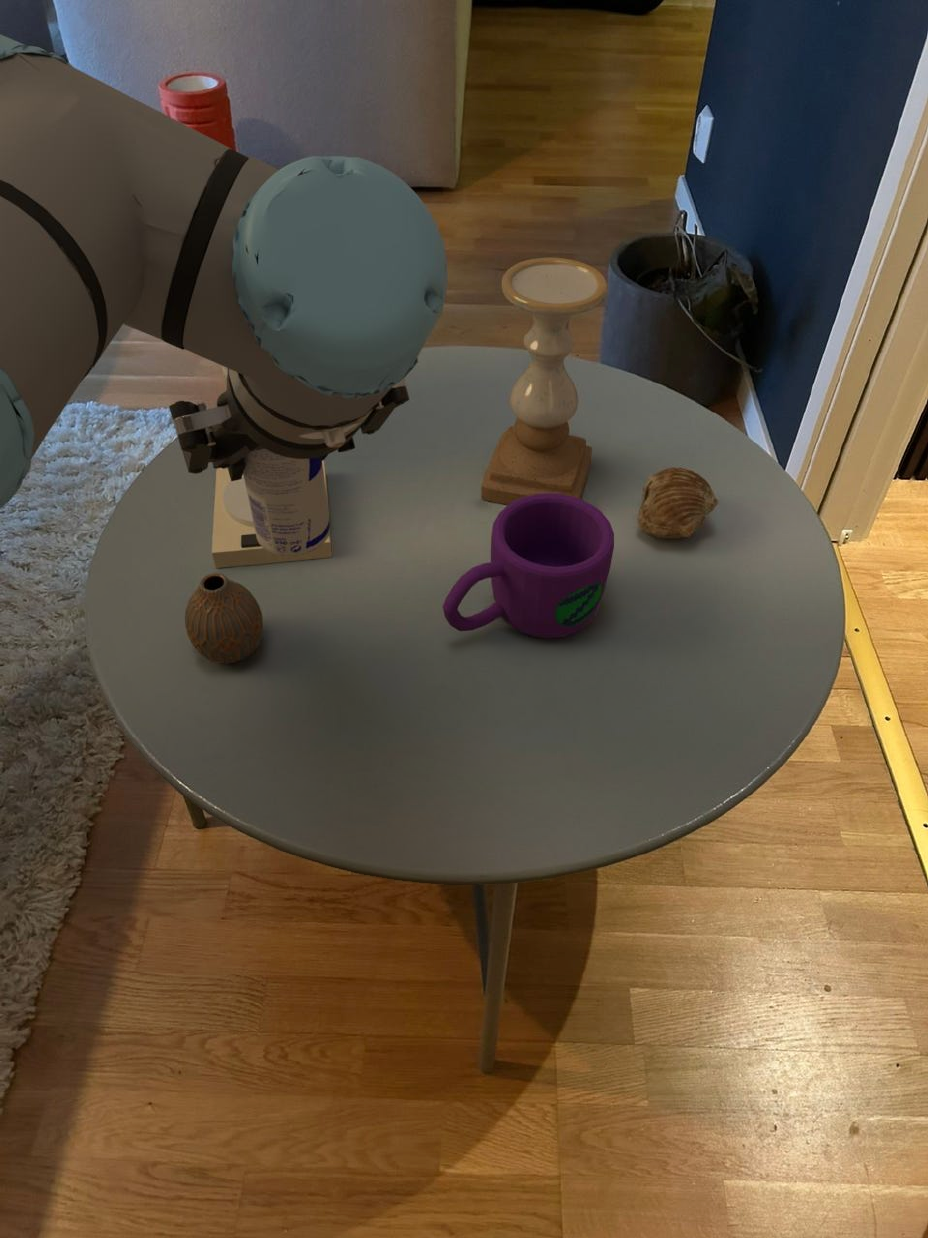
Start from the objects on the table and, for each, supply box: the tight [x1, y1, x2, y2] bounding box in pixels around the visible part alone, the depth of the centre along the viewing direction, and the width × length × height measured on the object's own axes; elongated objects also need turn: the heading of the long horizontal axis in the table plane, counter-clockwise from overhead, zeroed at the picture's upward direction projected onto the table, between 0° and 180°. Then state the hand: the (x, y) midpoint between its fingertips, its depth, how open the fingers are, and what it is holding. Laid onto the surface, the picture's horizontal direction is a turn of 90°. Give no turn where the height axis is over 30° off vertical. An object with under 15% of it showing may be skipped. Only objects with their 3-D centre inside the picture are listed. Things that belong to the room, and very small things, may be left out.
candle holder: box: [480, 257, 608, 506], centre depth 96 cm, size 11×11×24 cm
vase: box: [184, 572, 264, 664], centre depth 83 cm, size 7×7×9 cm
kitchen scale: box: [211, 459, 333, 569], centre depth 98 cm, size 12×14×3 cm
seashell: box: [637, 466, 719, 540], centre depth 96 cm, size 9×7×8 cm
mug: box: [442, 493, 615, 639], centre depth 86 cm, size 17×11×10 cm, turn 121°
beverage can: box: [221, 365, 332, 556], centre depth 64 cm, size 6×6×15 cm
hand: (273, 452), depth 67 cm, fingers closed on beverage can, 6 cm apart
